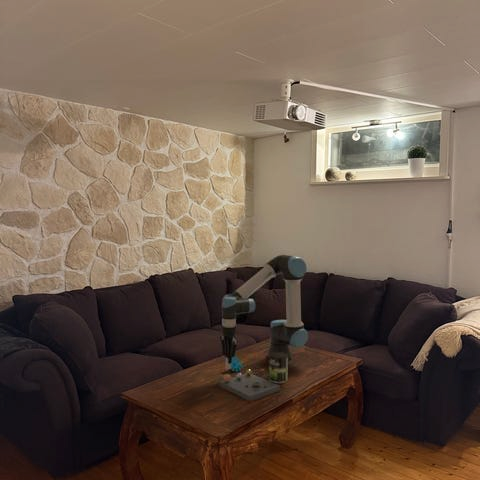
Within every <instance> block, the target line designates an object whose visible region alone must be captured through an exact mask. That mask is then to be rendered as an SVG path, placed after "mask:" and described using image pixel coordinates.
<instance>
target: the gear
mask: <svg viewBox="0 0 480 480" xmlns="http://www.w3.org/2000/svg"><path fill="white" fill-rule="evenodd" d="M243 363H244V361H240V358H237V356H234V357H232V363H231V372H235V373H239V372H240V371H241V370H242V368H243V366H242V365H243Z"/></svg>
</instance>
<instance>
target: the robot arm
mask: <svg viewBox="0 0 480 480" xmlns="http://www.w3.org/2000/svg"><path fill="white" fill-rule="evenodd" d="M307 269H308V268H307V263H306V261H305V260H304V259H303V258H302V257H301V256H297V255H288V254H280V255H277V256H275V257H273V258H272V259H270V260H269V261H267V262H266V263H265V264H264V266H263V268H261V269H260V270H259V271H258V272H256V273H255V274H254V275H253V276H251V278H250V279H248V280H247V281H246V282H245V283H243V284H242V285H241V286H240V287H238V288H237V289H236V290H235V291H233V292H232V293H230V294H225V295H224V296H223V298H222V301H221V302H222V303H221V325H222V326H221V333H222V336H219V339H220V345H221V352H222V355H223V356H224V358H225V359H224V361H225V369H226V370H232V368H231V363H232V359H233V358H234V357H235V355H236V350H237V345H238V343H239V341H238V340H236V337H235V334H236V332H237V331H236V330H237V328H236V325H237V322H236V321H237V315H240V314H249V313H253V312H254V311H255V309H256V302H255V300H254V299H253V298H249V297H250V296H252V295H253V294H254V293H255V292H256V291H257V290H258V289H260V288H261V287H262V286H264V285H265V284H266V283H267V282H268V281H270V280H271V279H272V278H276V277H277V276H278V275H282V280H283V281H284V282H285V307H286V319H276V320H272V321H271V322H270V327H269V329H270V332H269V333H270V334H269V335H270V337H269V338H270V340H269V343H270V344H269V347H268V351H267V353H266V354H267V358H268V359H269V353H271V352H275V351H281V352H285V353H287V354H288V361H289V360H291V359H292V357H293V354H292V353H293V352H291V351H292V350H291V347H292V348H296V349H298V348H302V347H303V346H304V345H306V343H307V341H308V339H309V334H308V331H307V329H305V326H304V323H303V321H302V308H301V306H302V304H301V301H302V299H301V298H302V297H301V281H303V280H304V279H303V278H304V275H305V274H306V273H307ZM232 357H233V358H232Z"/></svg>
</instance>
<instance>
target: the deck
mask: <svg viewBox="0 0 480 480" xmlns="http://www.w3.org/2000/svg"><path fill="white" fill-rule="evenodd" d="M219 387H220V388H222V389H225V390H226V391H228V392H230V393H232V394H233V395H237V396H239V397H241V398H243V399H244V400H246V401H248V402H252V401H255V400H258V399H260V398H263V397H267V396H269V395H272V394H275V393H277V392H280V391H281V386H280V385H278V384H277V383H274V382H271V381H269V380H267V379H265V378H263V377H260V376H258V375H255V374H253V373H252V374H251V375H247V374H246V373H243V374H242V379H237V377H236V376H232V377H231V380H230V381H229V382H225V381H224V380H223V379H222V380H221V381H219Z"/></svg>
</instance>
